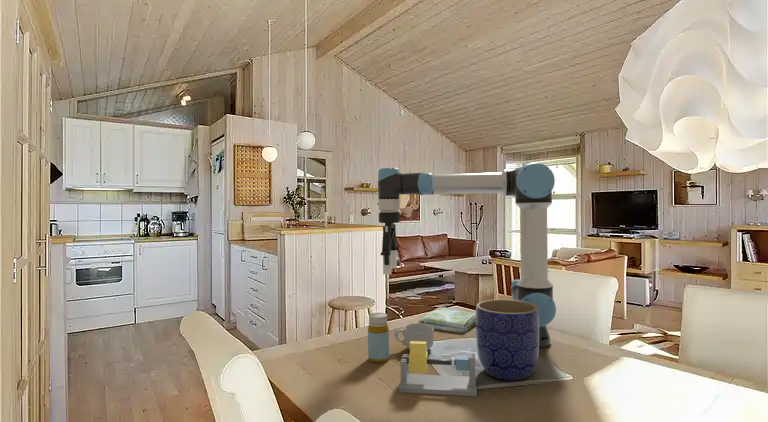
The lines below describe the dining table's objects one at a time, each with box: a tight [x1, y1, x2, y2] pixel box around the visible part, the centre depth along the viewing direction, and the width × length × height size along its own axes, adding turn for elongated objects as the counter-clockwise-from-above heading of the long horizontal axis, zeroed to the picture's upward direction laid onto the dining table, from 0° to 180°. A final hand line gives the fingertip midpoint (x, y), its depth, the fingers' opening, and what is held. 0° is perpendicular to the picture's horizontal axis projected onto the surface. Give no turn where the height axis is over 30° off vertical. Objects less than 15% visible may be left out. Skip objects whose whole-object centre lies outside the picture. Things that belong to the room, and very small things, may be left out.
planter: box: [475, 298, 540, 381], centre depth 132 cm, size 18×18×21 cm
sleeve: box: [408, 341, 429, 373], centre depth 124 cm, size 5×4×8 cm
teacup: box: [394, 322, 435, 351], centre depth 155 cm, size 14×11×8 cm
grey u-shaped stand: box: [398, 352, 478, 397], centre depth 124 cm, size 21×10×9 cm, turn 81°
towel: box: [417, 307, 476, 334], centre depth 185 cm, size 18×21×5 cm
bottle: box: [367, 312, 390, 364], centre depth 146 cm, size 7×7×15 cm
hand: (390, 271), depth 155 cm, fingers open, 13 cm apart
